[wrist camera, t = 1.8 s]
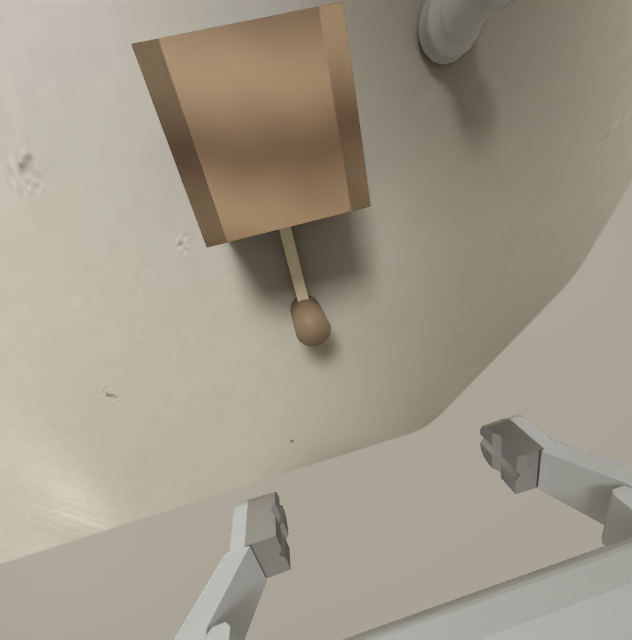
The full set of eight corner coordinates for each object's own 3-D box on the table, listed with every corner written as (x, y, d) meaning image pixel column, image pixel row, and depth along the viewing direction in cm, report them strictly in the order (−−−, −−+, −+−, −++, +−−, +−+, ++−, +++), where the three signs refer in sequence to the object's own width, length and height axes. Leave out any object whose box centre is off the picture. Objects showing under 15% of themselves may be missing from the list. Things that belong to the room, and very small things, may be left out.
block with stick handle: (226, 136, 22) (216, 119, 17) (291, 121, 22) (298, 101, 18) (283, 329, 29) (287, 353, 24) (332, 315, 29) (346, 337, 24)
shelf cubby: (178, 100, 21) (131, 43, 13) (314, 70, 21) (343, 1, 14) (223, 232, 24) (206, 247, 17) (338, 204, 25) (370, 206, 18)
